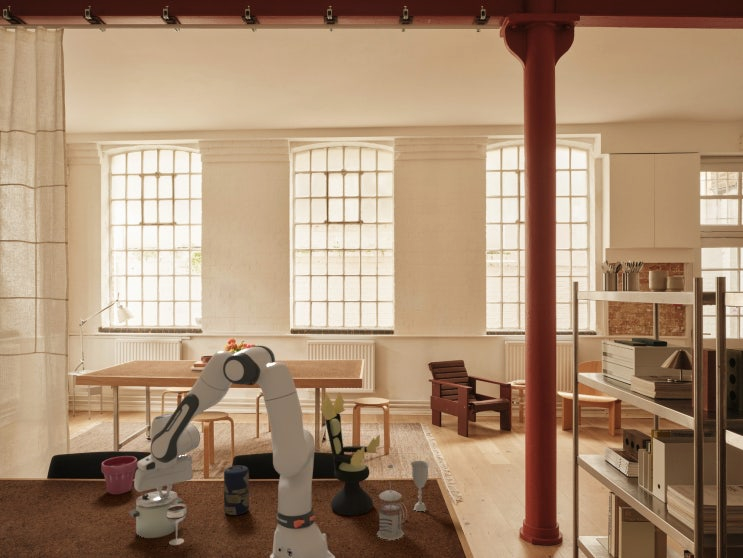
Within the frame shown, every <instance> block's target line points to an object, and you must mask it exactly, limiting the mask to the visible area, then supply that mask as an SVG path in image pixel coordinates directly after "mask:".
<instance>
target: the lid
mask: <svg viewBox="0 0 743 558" xmlns="http://www.w3.org/2000/svg"><path fill="white" fill-rule="evenodd" d="M161 491H162V492H165V491H166V490H161ZM177 498H178V493H177V492H176V491H173V490H170V492H169V497H166V498H162V499H161V498H160V493H159V492H158V490H156V491H151V492H148V493H144V494H142V495H140V496H138V497H137V498H136V500H135V503H136V504H137V505H138V506H140V507H158V506H163V505H167V504H170V503H172V502H174V501H175V500H176V499H177ZM136 504H135V505H136Z"/></svg>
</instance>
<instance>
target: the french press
mask: <svg viewBox="0 0 743 558" xmlns="http://www.w3.org/2000/svg"><path fill="white" fill-rule="evenodd" d="M387 468H388V469H393V468H394V466H393V464H392V463H389V464H387ZM391 481H392V480H389V490H384V491H382V492H381V493H379V495H378V497H379V499H380V500H382V501H386V502H387V503H382V504H381V505H380V509H379V511H378V512H379V515H378V516H379V521H378V522H379V524H378V525H379V530H378V531H377V532H376V536H377V535H378V536H377V537H378V538H379V537H380V538H379V539H381V538H383V539H388V540H387V541H391V540H393V541H396V540H395V539H398V540H400V539H399V538H401V537H402V536H403V535H404V536H405V533H404V531H403V530H402V523H404V522H406V520H407V519H408V518H407V517H408V511H407V507H406V505H405V504H404V502H402V501H400V500H401V498H402V494H401V493H400V492H398V491H395V490H394V489H393V490H392V488H391ZM396 501H400V502H398V503H393V502H396ZM401 504H402V505H403V506H404V508H403V507H402V505H401ZM404 511H406V513H405V512H404ZM391 513H392V514H391ZM402 513H403V514H402ZM405 514H406V515H405ZM402 516H403V518H402ZM405 516H406V517H405ZM404 536H403V537H404ZM403 537H402V538H403ZM402 538H401V539H402ZM383 539H382V540H383Z"/></svg>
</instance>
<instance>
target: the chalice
mask: <svg viewBox="0 0 743 558" xmlns="http://www.w3.org/2000/svg"><path fill="white" fill-rule="evenodd" d="M410 465H411V476H412V480H413V482H414V485H415V486H416V487H417V488H418V491H417V493H418V496H417V499H418V502H416V503H415V504H414V508H413V511H414V510H416V511H415V512H417V511H424V512H426V511H427V508H426V505H425V503H424V502H423V501H422V498H423V496H422V493H423V492H422V488H424V486H425V484H426V483H427V480H428V478H429V465H430V463H429V462H427V461H423V460H413V461H411V462H410ZM425 510H426V511H425Z"/></svg>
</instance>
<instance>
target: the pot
mask: <svg viewBox="0 0 743 558" xmlns="http://www.w3.org/2000/svg"><path fill="white" fill-rule="evenodd" d="M176 503H183V504H184V500H183V499H182V498H181V497H177V499H176V500H175V501H174V502H172V503H170V504H167V505H163V506H158V507H140V506H138V505H137V504H135V506H136V508H134V509H131V510H129V515H130V516H131V517H132V518H135V519H136V521H135V523H136V524H135V525H136V526H135V528H136V535H137V536H138V535H139V536H138V537H140V536H141V537H140V538H143V537H144V539H154V538H157V539H158V538H162V537H165V536H168V535H171V534H173V533H174V532H176V528H175V524H174V523H173V522H170V521H169V520H168V519H167V517H166V512H167V509H166V508H167V507H168V506H169V505H172V504H176Z"/></svg>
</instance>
